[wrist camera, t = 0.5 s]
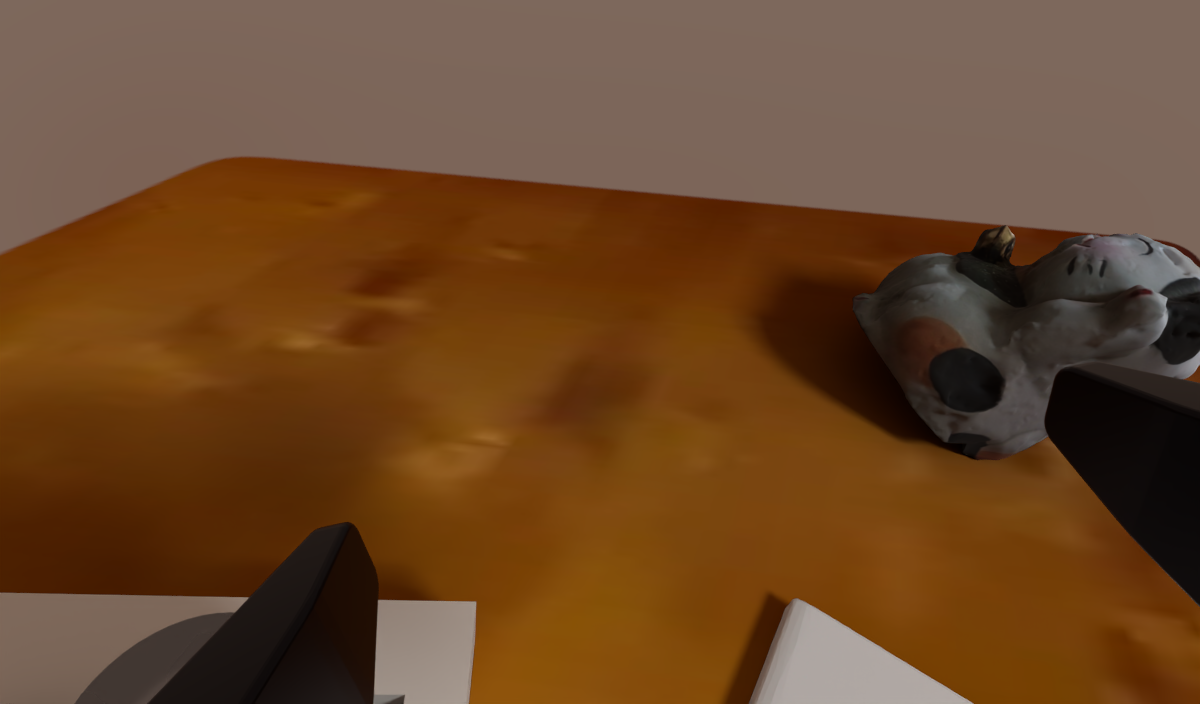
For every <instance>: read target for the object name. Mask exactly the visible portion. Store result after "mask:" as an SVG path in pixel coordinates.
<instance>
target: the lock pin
mask: <svg viewBox="0 0 1200 704" xmlns="http://www.w3.org/2000/svg"><path fill="white" fill-rule="evenodd" d="M234 613H235V612H227V613H214V614H207V615H201V616H197V617H194V618H190V619H186V620H183V621H181V622H178V623H175V624H173V625H170V626H168V627H166V628H164V629H162V630H159V631H157V632H155V633H153V634H152V635H150V636H148V637H147V638H145V639H143V640H141V641H140V642H138V643H137V644H135V645H134V646H132V647H131V648H130V649H128V650H127V651H125V652H124V653H122V654H121V655H120V656H119V657H118V658H116V659H115V660H114V661H113V662H112V663H110V664H109V665H108V666H107V667H106V668H105V669H104V670H103V671H102V672H101V673H100V674H99V675H98V676H97V677H96V678H95V679H94V680H93V681H92V682H91V683H90V685H89V686H88V687H87V688H86V689H85V690H84V692H83V693H82V694H81V695H80V696H79V698H78V699H77V701H76V702H75V703H74V704H147V703H148V702H149V701H150V700H151V699H152V698H153V697H154V696H155V695H156V694H157V693H158V692H159V691H160V690H161V689H162V688H163V687H164V686H165V685H166V683H167V682H168V681H169V680H170V679H171V678H172V677H173V676H174V675H175V674H176V673H177V672H178V671H179V670H180V669H181V668H182V667H183V666H184V665H185V664H186V663H187V662H188V661H189V660H190V659H191V658H192V656H193V655H194V654H195V653H196V652H197V651H198V650H199V649H200V648H201V647H202V646H203V645H204V644H205V643H206V642H207V641H208V640H209V639H210V638H211V637H212V636H213V635H214V634H215V633H216V632H217V630H218V629H219V628H220V627H221V626H222V625H223V624H224V623H225V622H226V621H227V620H228V619H229V618H230V617H231V616H232V615H233V614H234Z"/></svg>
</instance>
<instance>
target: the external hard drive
mask: <svg viewBox="0 0 1200 704" xmlns="http://www.w3.org/2000/svg"><path fill="white" fill-rule="evenodd" d="M749 704H973V703H972V702H970V701H968V700H967V699H965V698H963V697H962V696H960V695H958V694H957V693H955V692H953V691H952V690H950V689H949V688H947V687H945V686H944V685H942V684H940V683H939V682H937V681H935V680H933V679H932V678H930V677H928V676H927V675H925V674H923V673H922V672H920V671H919V670H917V669H916V668H914V667H912V666H910V665H909V664H907V663H906V662H904V661H902V660H901V659H899V658H897V657H895V656H894V655H892V654H891V653H889V652H887V651H885V650H884V649H883V648H881V647H880V646H878V645H876V644H875V643H873V642H871V641H870V640H868V639H866V638H865V637H863V636H861V635H859V634H858V633H856V632H854V631H853V630H852V629H850V628H848V627H847V626H845V625H843V624H841V623H840V622H838V621H837V620H835V619H833V618H832V617H830V616H829V615H827V614H825V613H823V612H822V611H820V610H818V609H817V608H815V607H813V606H811V605H809V604H807V603H806V602H804V601H801V600H799V599H793V600H792V601H791V602H790V604H789V605H788V606H787V607H786V608H785V610H784V613H783V616H782V618H781V621H780V623H779V626H778V629H777V631H776V634H775V636H774V639H773V641H772V644H771V646H770V649H769V652H768V655H767V657H766V660H765V663H764V665H763V668H762V670H761V673H760V676H759V678H758V681H757V683H756V686H755V689H754V691H753V694H752V696H751V699H750V702H749Z"/></svg>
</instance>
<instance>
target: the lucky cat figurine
mask: <svg viewBox="0 0 1200 704" xmlns="http://www.w3.org/2000/svg"><path fill="white" fill-rule="evenodd" d="M1014 244H1015V236H1014V235H1013V234H1012V232H1011V231H1010V229H1009V228H1008V227H1007V225H1004V226H1001V227H998V228H994V229H989V230H985V231H984V232H983V233H982V234H981V236H980V237H979V239H978V241H977V243H976V245H975V247H974V249H973V250H972V251H971V252H961V253H958V254H957V255H955V256H952V255H947V254H944V253H936V254H928V255H921V256H917V257H914V258H912V259H910V260H908V261H906V262H904V263H902V264H901V265H900V266H898V267H897V268H895V269H894V270H893V271H891V272H890V273H889V274H888V276H887V277H886V278H885V279H884V280H883V281H882V282H881V284H880V285H879V287H878V288H877V290H876V291H875V292H874V293H873V294H867V293H862V294H860V295H857V296H855V297H854V298H853V312H854V313H855V315H856V317H857V320H858V322H859V324H860V326H861V328H862V329H863V331H864V332H865V334H866V335H867V337H868V339H869V340H870V342H871V343H872V345H873V346H874V348H875V349H876V351H877V352H878V354H879V355H880V357H881V358H882V360H883V361H884V363H885V364H886V366H887V367H888V368H889V370H890V371H891V373H892V374H893V376H894V377H895V379H896V380H897V382H898V383H899V385H900V386H901V388H902V390H903V391H904V394H905V398H906V399H907V400H908V402H909V404H910V405H911V407H912V408H913V409H914V411H915V412H916V413H917V414H918V415H919V417H920V418H921V419H922V420H923V421H924V422H925V423H926V424H927V425H928V426H929V428H930V429H931V430H932V431H933V432H934V434H935V435H936V436H938V437H939V438H940V439H941V440H942V442H945V443H962V453H963V454H966V455H968V456H971V457H972V458H974V459H976V460H980V459H988V460H999V459H1003V458H1007V457H1009V456H1011V455H1013V454H1016V453H1018V452H1020V451H1023V450H1025V449H1027V448H1029V447H1031V446H1032V445H1034V444H1035V443H1037V442H1039V441H1041V440H1043V439H1045V438H1046V437H1047V436H1048V435H1047V433H1046V430H1045V426H1044V418H1045V413H1046V409H1047V405H1048V401H1049V397H1050V393H1051V389H1052V385H1053V381H1054V378H1055V375H1056V374H1057V373H1058V372H1059V370H1060V369H1062V368H1064V367H1067V366H1071V365H1076V364H1080V363H1085V362H1091V361H1097V362H1103V363H1108V364H1113V365H1117V366H1122V367H1127V368H1131V369H1136V370H1141V371H1145V372H1150V373H1155V374H1159V375H1164V376H1169V377H1174V378H1178V379H1185V378H1188V377H1189V376H1190V375H1192V374H1193V373H1194V372H1195V371H1196V369H1197V367H1198V366H1199V365H1200V268H1199V267H1197V266H1196V265H1195V264H1194V263H1193V261H1192V260H1191V259H1190V258H1188V257H1187V256H1185V255H1183V254H1182V253H1181V252H1180V251H1178V250H1177V249H1175V248H1173V247H1169V246H1166V245H1164V244H1161V243H1159V242H1156V241H1153V240H1152V239H1150V238H1148V237H1145V236H1143V235H1140V234H1137V233H1135V234H1133V235H1128V234H1113V235H1110V236H1109V237H1101V236H1099V235H1098V234H1096V235H1086V236H1077V237H1074V238H1069V239H1066V240H1064V241H1063V242H1061V243H1060V244H1059V245H1058V247H1057V248H1056V249H1054V250H1053V251H1052V252H1050V253H1049V254H1047V255H1045V256H1043V257H1041V258H1040V259H1038V260H1037V261H1036V262H1034V263H1033V264H1031V265H1025V266H1014V265H1012V264H1011V263H1010V261H1009V259H1010V257H1011V253H1012V250H1013V247H1014Z"/></svg>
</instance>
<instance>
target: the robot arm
mask: <svg viewBox="0 0 1200 704" xmlns="http://www.w3.org/2000/svg"><path fill="white" fill-rule="evenodd" d="M1044 426H1045V430H1046V433H1047V435H1048V437H1049V438H1050V440H1051V441H1052V442H1053V443H1054V445H1055V446H1056V447H1057V448H1058V449H1059V451H1060V452H1061V453H1062V454H1063V455H1064V457H1065V458H1066V459H1067V460H1068V462H1069V463H1070V464H1071V465H1072V466H1073V468H1074V469H1075V470H1076V471H1077V472H1078V474H1079V475H1080V476H1081V477H1082V478H1083V480H1084V481H1085V482H1086V483H1087V485H1088V486H1089V487H1090V488H1091V489H1092V491H1093V492H1094V493H1095V494H1096V495H1097V497H1098V498H1099V499H1100V500H1101V501H1102V503H1103V504H1104V505H1105V506H1106V508H1107V509H1108V510H1109V511H1110V512H1111V514H1112V515H1113V516H1114V517H1115V518H1116V520H1117V521H1118V522H1119V523H1120V524H1121V525H1122V527H1123V528H1124V529H1125V530H1126V531H1127V532H1128V534H1129V535H1130V536H1131V537H1132V538H1133V539H1134V540H1135V541H1136V542H1137V543H1138V544H1139V545H1140V546H1141V547H1142V549H1143V550H1144V551H1145V552H1146V553H1147V554H1148V555H1149V556H1150V557H1151V558H1152V559H1153V560H1154V561H1155V562H1156V563H1157V564H1158V565H1159V566H1160V567H1161V568H1162V569H1163V570H1164V571H1165V572H1166V573H1167V574H1168V575H1169V576H1170V577H1171V578H1172V579H1173V580H1174V581H1175V582H1176V583H1177V584H1178V585H1179V586H1180V587H1181V588H1182V589H1183V590H1184V591H1185V592H1186V593H1187V594H1188V595H1189V596H1190V597H1191V598H1192V599H1193V600H1194V602H1195V603H1196V604H1197V605H1198V606H1199V607H1200V383H1197V382H1192V381H1188V380H1183V379H1178V378H1174V377H1169V376H1164V375H1159V374H1155V373H1150V372H1145V371H1141V370H1136V369H1131V368H1127V367H1122V366H1117V365H1113V364H1108V363H1103V362H1097V361H1091V362H1085V363H1080V364H1076V365H1071V366H1067V367H1064V368H1062V369H1060V370H1059V372H1058V373H1057V374H1056V375H1055V378H1054V381H1053V385H1052V389H1051V393H1050V397H1049V401H1048V405H1047V409H1046V413H1045V418H1044ZM378 591H379V587H378V577H377V573H376V570H375V567H374V565H373V562H372V560H371V558H370V556H369V554H368V551H367V549H366V547H365V545H364V542H363V540H362V538H361V536H360V533H359V531H358V529H357V528H356V527H355V526H354V524H352V523H349V522H344V523H339V524H334V525H330V526H325V527H321V528H318V529H316V530H314V531H313V532H312V533H311V534H310V535H309V536H308V537H307V538H306V539H305V540H304V541H303V542H302V543H301V544H300V545H299V546H298V547H297V548H296V549H295V550H294V551H293V552H292V554H291V555H290V556H289V557H288V558H287V559H286V560H285V561H284V562H283V563H282V564H281V565H280V566H279V567H278V568H277V569H276V570H275V571H274V572H273V573H272V574H271V575H270V576H269V577H268V578H267V580H266V581H265V582H264V583H263V584H262V585H261V586H260V587H259V588H258V589H257V590H256V591H255V592H254V593H253V594H252V595H251V596H250V597H249V598H248V599H247V600H246V601H245V602H244V603H243V604H242V606H241V607H240V608H239V609H238V610H237V611H236V612H235V613H234V614H233V615H232V616H231V617H230V618H229V619H228V620H227V621H226V622H225V623H224V624H223V625H222V626H221V627H220V628H219V629H218V630H217V632H216V633H215V634H214V635H213V636H212V637H211V638H210V639H209V640H208V641H207V642H206V643H205V644H204V645H203V646H202V647H201V648H200V649H199V650H198V651H197V652H196V653H195V654H194V655H193V656H192V658H191V659H190V660H189V661H188V662H187V663H186V664H185V665H184V666H183V667H182V668H181V669H180V670H179V671H178V672H177V673H176V674H175V675H174V676H173V677H172V678H171V679H170V680H169V681H168V682H167V683H166V685H165V686H164V687H163V688H162V689H161V690H160V691H159V692H158V693H157V694H156V695H155V696H154V697H153V698H152V699H151V700H150V701H149V702H148V703H147V704H373V702H374V684H375V661H376V637H377V614H378Z"/></svg>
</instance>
